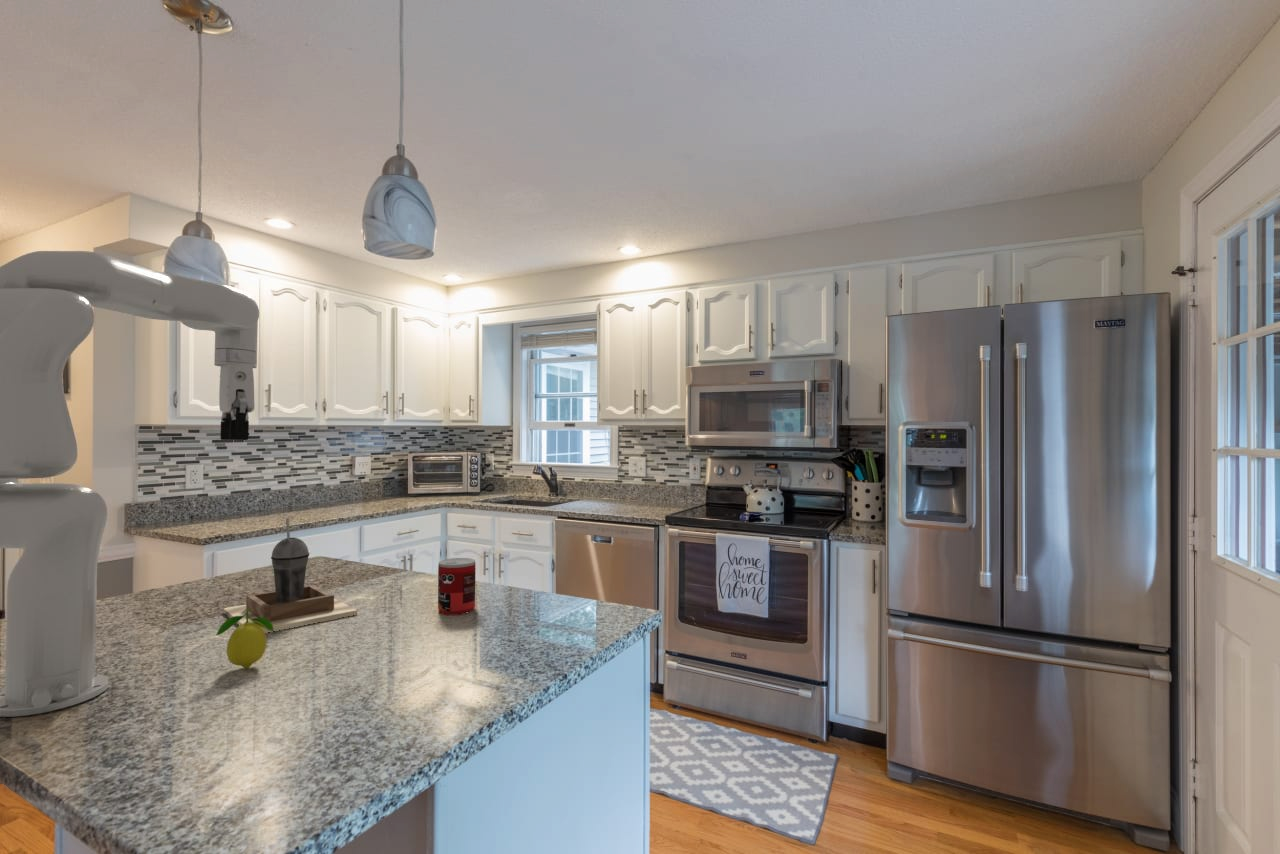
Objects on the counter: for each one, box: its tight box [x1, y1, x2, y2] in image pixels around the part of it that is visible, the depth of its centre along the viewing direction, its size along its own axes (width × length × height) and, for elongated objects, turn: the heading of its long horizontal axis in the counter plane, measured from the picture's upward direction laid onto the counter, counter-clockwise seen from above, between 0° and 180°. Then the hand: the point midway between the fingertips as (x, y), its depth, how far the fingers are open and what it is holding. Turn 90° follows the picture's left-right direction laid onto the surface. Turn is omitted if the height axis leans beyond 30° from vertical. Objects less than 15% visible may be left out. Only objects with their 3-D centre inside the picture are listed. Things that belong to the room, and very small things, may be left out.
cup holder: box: [222, 584, 358, 634], centre depth 132 cm, size 22×20×4 cm
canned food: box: [437, 557, 477, 615], centre depth 135 cm, size 8×8×11 cm
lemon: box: [215, 608, 274, 670], centre depth 101 cm, size 7×6×10 cm
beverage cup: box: [270, 517, 310, 604], centre depth 132 cm, size 7×7×20 cm
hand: (234, 439), depth 128 cm, fingers open, 9 cm apart
